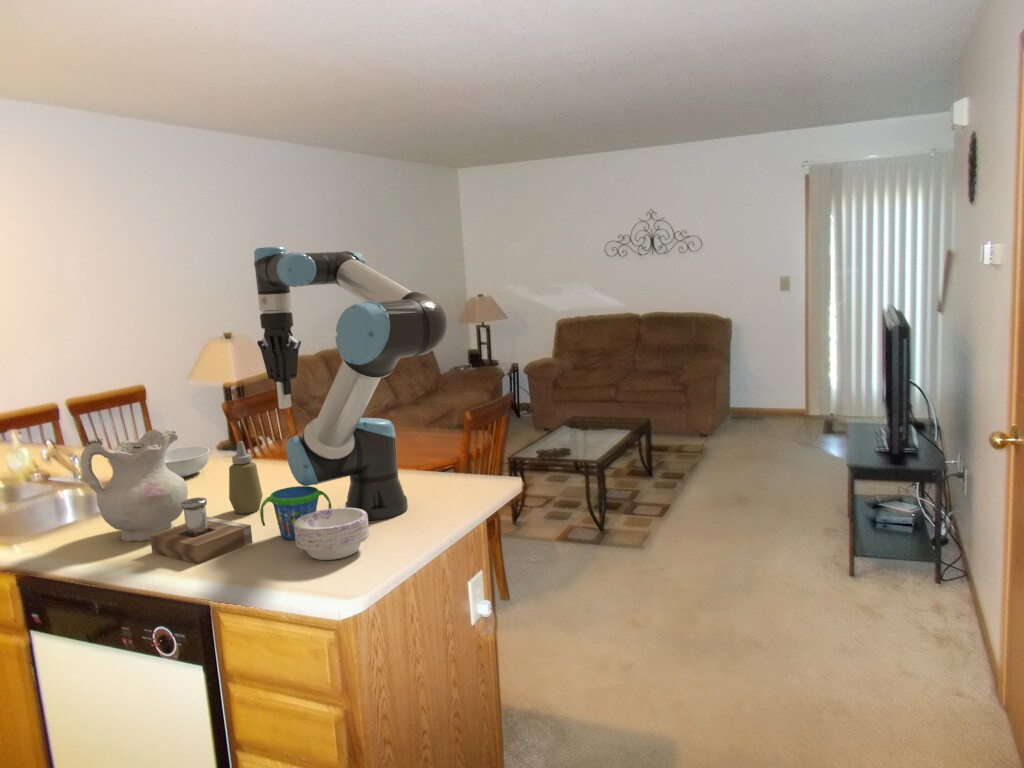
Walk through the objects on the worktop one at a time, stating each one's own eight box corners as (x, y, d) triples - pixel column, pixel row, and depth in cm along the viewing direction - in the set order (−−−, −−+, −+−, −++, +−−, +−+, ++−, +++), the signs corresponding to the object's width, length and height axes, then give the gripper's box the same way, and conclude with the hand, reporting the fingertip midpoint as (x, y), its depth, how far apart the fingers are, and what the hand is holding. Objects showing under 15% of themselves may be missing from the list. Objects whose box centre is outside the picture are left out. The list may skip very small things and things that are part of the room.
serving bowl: (151, 470, 251) (148, 449, 250) (219, 465, 253) (217, 444, 252) (127, 488, 231) (124, 465, 230) (201, 482, 233) (198, 459, 232)
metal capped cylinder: (217, 547, 175) (211, 499, 173) (196, 554, 171) (191, 505, 169) (201, 543, 178) (196, 496, 176) (181, 551, 173) (175, 503, 172)
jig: (252, 542, 177) (250, 525, 176) (198, 564, 165) (196, 545, 164) (206, 533, 185) (204, 516, 184) (152, 553, 173) (149, 535, 173)
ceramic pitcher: (125, 560, 173) (117, 450, 169) (71, 542, 182) (62, 437, 178) (206, 529, 192) (201, 429, 187) (154, 514, 201) (147, 419, 196)
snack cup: (333, 523, 187) (329, 482, 185) (333, 538, 177) (329, 494, 175) (264, 532, 184) (260, 489, 182) (261, 547, 173) (256, 502, 172)
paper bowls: (325, 537, 177) (322, 503, 176) (383, 543, 171) (381, 508, 170) (281, 562, 163) (277, 525, 162) (343, 569, 158) (340, 531, 156)
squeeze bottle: (254, 516, 196) (246, 445, 194) (224, 515, 198) (216, 445, 195) (269, 506, 204) (262, 437, 202) (240, 506, 206) (233, 438, 203)
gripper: (245, 313, 192) (255, 409, 195) (282, 312, 185) (292, 411, 188) (269, 310, 198) (278, 403, 202) (306, 310, 191) (315, 406, 195)
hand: (285, 407), depth 195 cm, fingers closed
